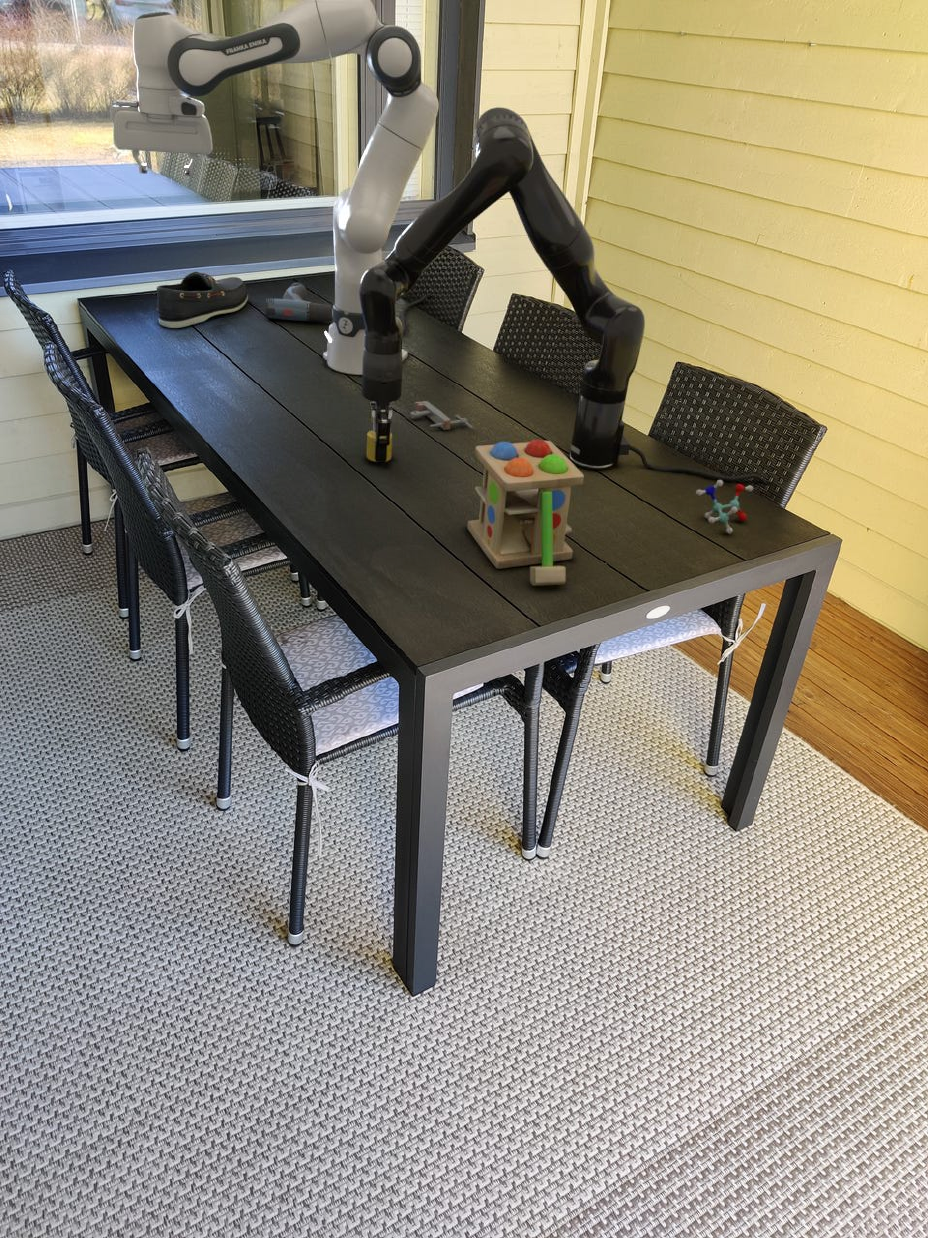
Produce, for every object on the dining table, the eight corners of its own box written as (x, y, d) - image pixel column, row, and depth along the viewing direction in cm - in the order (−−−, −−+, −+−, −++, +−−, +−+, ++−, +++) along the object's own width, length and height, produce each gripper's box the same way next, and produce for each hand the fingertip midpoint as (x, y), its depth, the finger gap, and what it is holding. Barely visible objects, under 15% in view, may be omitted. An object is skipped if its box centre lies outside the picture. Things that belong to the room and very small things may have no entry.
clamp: (402, 403, 214) (442, 397, 219) (402, 412, 215) (442, 407, 220) (435, 430, 204) (476, 423, 208) (434, 439, 205) (475, 433, 209)
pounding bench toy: (594, 585, 162) (612, 488, 152) (515, 596, 157) (528, 496, 147) (538, 519, 179) (551, 428, 169) (466, 527, 175) (475, 434, 165)
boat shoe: (266, 306, 270) (264, 267, 265) (176, 330, 246) (172, 288, 241) (231, 297, 276) (229, 259, 270) (140, 320, 252) (135, 279, 246)
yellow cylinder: (374, 463, 192) (374, 441, 189) (362, 453, 195) (362, 431, 192) (395, 459, 194) (396, 437, 191) (383, 449, 197) (384, 427, 195)
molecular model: (759, 527, 176) (743, 474, 175) (707, 542, 180) (691, 490, 179) (762, 518, 187) (747, 467, 185) (712, 532, 190) (698, 483, 189)
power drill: (344, 304, 276) (335, 327, 259) (277, 298, 275) (264, 321, 258) (344, 285, 273) (335, 306, 256) (277, 279, 272) (264, 300, 255)
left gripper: (106, 101, 200) (114, 174, 207) (209, 107, 203) (213, 179, 211) (109, 96, 205) (117, 168, 212) (210, 103, 208) (214, 173, 216)
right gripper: (359, 358, 190) (357, 439, 199) (365, 386, 178) (363, 471, 188) (397, 359, 191) (394, 439, 201) (406, 386, 180) (402, 471, 189)
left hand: (166, 174), depth 212 cm, fingers open, 8 cm apart
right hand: (379, 454), depth 194 cm, fingers closed on yellow cylinder, 5 cm apart
